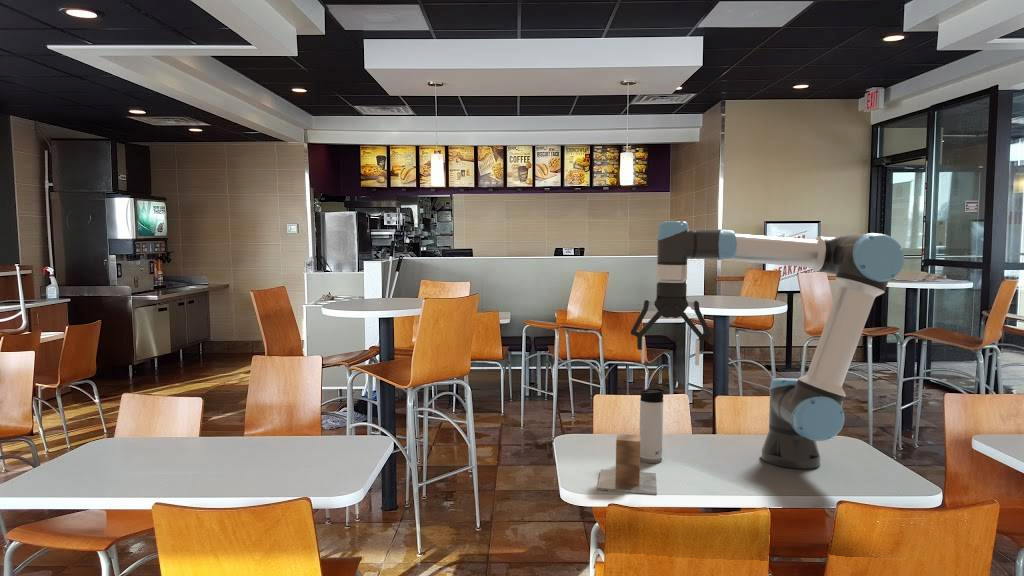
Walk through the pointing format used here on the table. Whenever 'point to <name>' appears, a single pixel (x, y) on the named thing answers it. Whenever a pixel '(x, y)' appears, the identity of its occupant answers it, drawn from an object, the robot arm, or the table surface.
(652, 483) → the post
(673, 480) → the table surface
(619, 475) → the tall wooden peg
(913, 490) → the table surface
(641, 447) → the travel mug
